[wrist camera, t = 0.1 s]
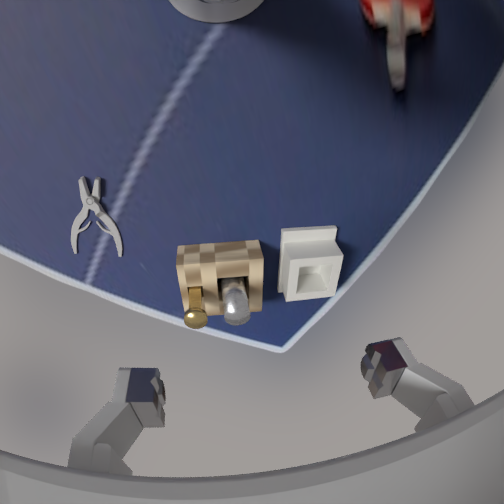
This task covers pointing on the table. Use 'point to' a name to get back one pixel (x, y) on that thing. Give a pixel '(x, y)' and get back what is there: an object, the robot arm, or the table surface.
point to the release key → (195, 309)
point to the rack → (309, 262)
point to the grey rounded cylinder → (235, 300)
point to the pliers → (93, 203)
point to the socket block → (220, 272)
